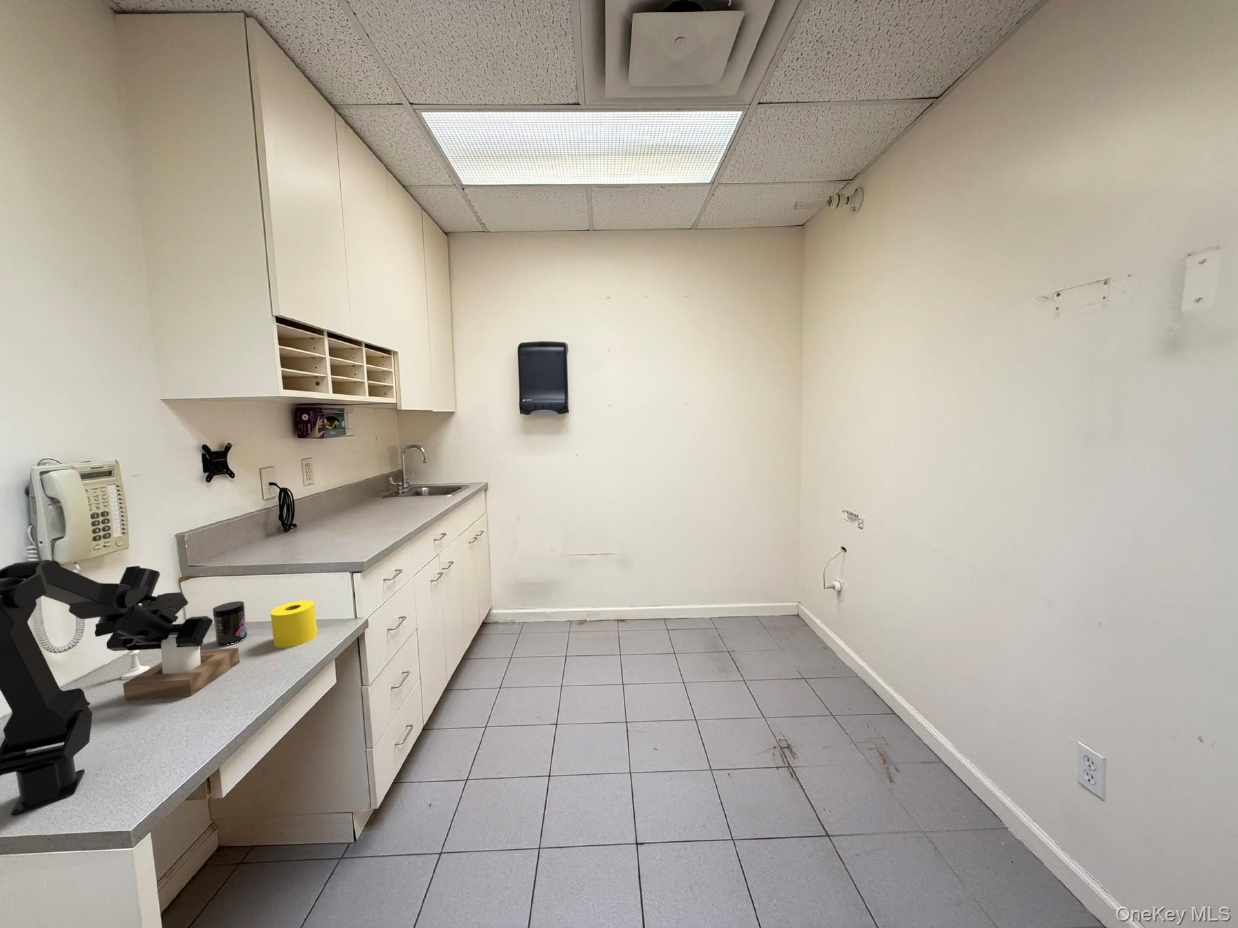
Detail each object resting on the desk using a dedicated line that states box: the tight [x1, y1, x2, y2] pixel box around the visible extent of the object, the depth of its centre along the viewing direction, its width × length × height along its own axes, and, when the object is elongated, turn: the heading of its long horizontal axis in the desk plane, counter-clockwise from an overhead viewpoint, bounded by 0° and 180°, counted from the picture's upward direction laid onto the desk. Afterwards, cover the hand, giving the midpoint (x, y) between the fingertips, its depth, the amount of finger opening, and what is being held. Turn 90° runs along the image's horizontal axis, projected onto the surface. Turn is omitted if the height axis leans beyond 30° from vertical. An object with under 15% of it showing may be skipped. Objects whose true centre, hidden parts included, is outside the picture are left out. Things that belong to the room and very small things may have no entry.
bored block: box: [122, 647, 241, 702], centre depth 105 cm, size 14×14×4 cm
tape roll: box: [270, 600, 318, 649], centre depth 124 cm, size 10×10×9 cm
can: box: [160, 635, 201, 674], centre depth 104 cm, size 6×6×12 cm
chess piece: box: [121, 650, 151, 681], centre depth 108 cm, size 5×5×10 cm
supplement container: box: [212, 600, 248, 646], centre depth 124 cm, size 7×7×10 cm
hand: (187, 644), depth 105 cm, fingers closed on can, 6 cm apart
